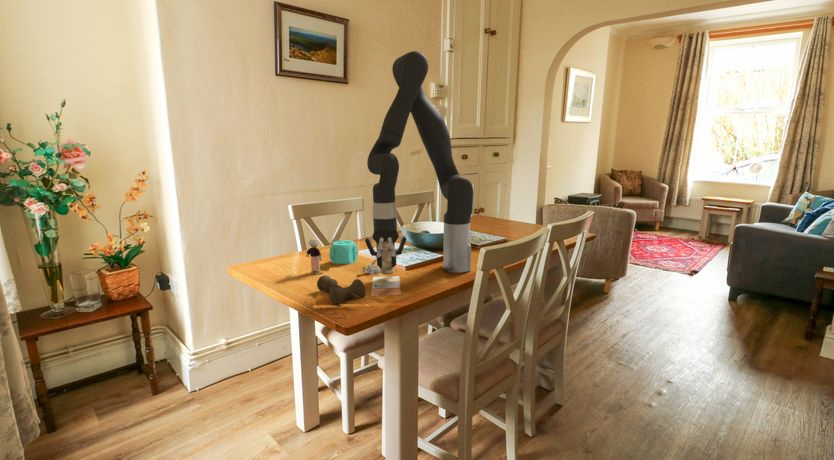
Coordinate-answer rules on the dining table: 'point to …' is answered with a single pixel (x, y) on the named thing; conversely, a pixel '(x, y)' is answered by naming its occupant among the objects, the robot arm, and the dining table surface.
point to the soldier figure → (372, 268)
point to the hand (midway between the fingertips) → (386, 267)
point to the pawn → (386, 259)
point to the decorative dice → (343, 252)
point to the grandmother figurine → (314, 256)
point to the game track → (386, 286)
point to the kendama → (341, 289)
